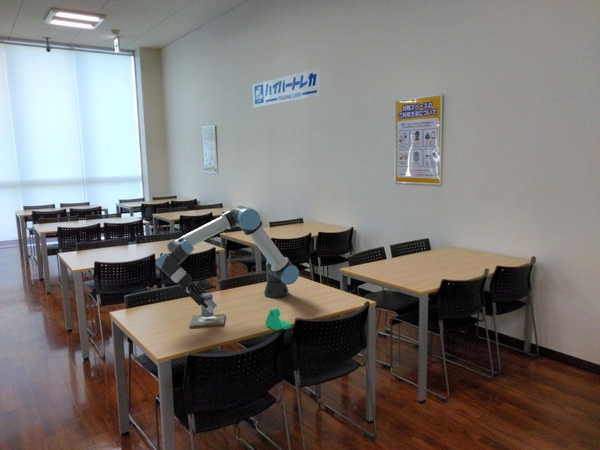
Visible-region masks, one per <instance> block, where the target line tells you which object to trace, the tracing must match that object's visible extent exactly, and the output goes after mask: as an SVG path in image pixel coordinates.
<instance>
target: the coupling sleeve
mask: <svg viewBox="0 0 600 450" xmlns="http://www.w3.org/2000/svg"><path fill="white" fill-rule="evenodd" d="M201 298H202V299H203V300H204V301H206V302H207V303H208V304H209V305H210V306H211V307H212V308H213V301H214V300H213V299H214V296H213V293H211V292H207V293H204V294H201ZM200 308H201V309H200V311H201V312H200V313H201V314H200V315H201V316H202V317H211V316H213V315H214V310H213V311H212V312H211V313H210V312H209V311H207V310H206V309H205V308H204V307H203V306H202V305H200Z"/></svg>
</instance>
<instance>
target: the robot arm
mask: <svg viewBox="0 0 600 450" xmlns="http://www.w3.org/2000/svg"><path fill="white" fill-rule="evenodd" d="M263 225H264V224H263V221H262V220H261V215H260V214H259V212H258V211H257V210H256V209H254V208H252V207H246V206H243V205H241V206H235V207H233V208H231V209H229V210H227V211H225V212H223V213H222V214H221V215H220V217H217V218H215V219H213V220H212V221H210V222H208V223H206V224H204V225H202V226H200V227H197V228H196V229H194V230H192V231H190V232H188V233H186V234H184V235H183V236H181V237H179V238H176V239H170V240H169V241H168V243H167V244H166V247H167V251H168V252H169V253H166V252H164V253H162V254H160V256H159V257H158V258H157V259H156V261H155V264H156V265H157V267H159V269H160V270H161V271H162V272H163V273H164V274H165V275H166V276H167V277H169V278H170V279H171V281H173V282H174V283H177V286H178V287H179V288H180V289H185V291H184V293H185V294H187V295H188V296H189V297H190V298H191V299H192V300H193V301H194V302H195V303H196V304H197V305H198V306H200V307H201V305H202V306H203V307H204V308H205V309H206V310H207V311H209V312H210V313H211V312H212V311H213V312H214V311H215V308H216V307H218V304H217V303H216V302H215V301H214V300H213V308H212V307H211V306H210V305H209V304H208V303H207V302H206V301H204V300H203V299H202V298H201V294H204V293H208V292H207V291H206V290H205V289H204V288H203V287H202V286H201V285H200V284H199V283H198V282H197V281H194V282H193V281H192V276H191V275H190V274H189V273H187V271H186V270H184V268H182V267H181V266H180V265H181V264H182V262H183V261H185V259H186V258H188V257H189V255H190V254H192V253H193V251H194V250H195V247H194V246H197V245H198V244H200V243H202V242H204V241H206V240H208V239H210V238H212V237H214V236H215V235H217V234H219V233H221V232H223V231H225V230H226V229H228V230H231V229H232V228H236V227H239V228H240V229H241V231H242V232H243V233H244V235H245V236H249V237H250V238H251V239H252V241H253V242H254V244H255V245H256V246H257V248H258V249H259V250H260V252H261V253H262V255H263V256H264V257H265V259H266V263H265V266H266V267H265V268H266V269H265V270H266V271H265V272H266V284H265V287H264V291H263V295H264V297H267V298H271V299H272V298H273V299H278V298H285V297H287V296H288V295H289V288H288V285H290V286H291V285H293V284H295V282H297V281H298V279H299V276H300V270H299V269H298V267H297V266H296V265H294V264H292V262H291V261H290V259H289V258H288V257H287V256H284V255H283V254H282V253H281V251H280V250H279V248H278V247H277V246H276V245H275V242H273V240H272V239H271V238H270V236H269V235H268V233H267V231H266V230H265V229H264V227H263Z"/></svg>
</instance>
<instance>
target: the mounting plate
mask: <svg viewBox="0 0 600 450" xmlns="http://www.w3.org/2000/svg"><path fill="white" fill-rule="evenodd" d="M225 319H226V313H222V314H221V313H218V314H216V313H215V314H213V316H211V317H202V316H201V314H198V315H196V314H195V315H192V318H191V320H190V323H189V325H188V327H189V329H197V328H198V329H199V328H216V327H224V326H225V321H226V320H225Z"/></svg>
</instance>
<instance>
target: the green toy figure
mask: <svg viewBox="0 0 600 450" xmlns="http://www.w3.org/2000/svg"><path fill="white" fill-rule="evenodd" d="M280 316H281V311H280V309H279V308H273V309H270V310H269V313H268V314H267V317H266V320H264V321H265V322H264V323H265V325H266V326H267V327H269V329H270V330H272V331H279V329H281V328H284V329H285V330H288V329H291V328H292V323H290V322H287V321H285V320H282V319H281V318H280Z"/></svg>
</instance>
